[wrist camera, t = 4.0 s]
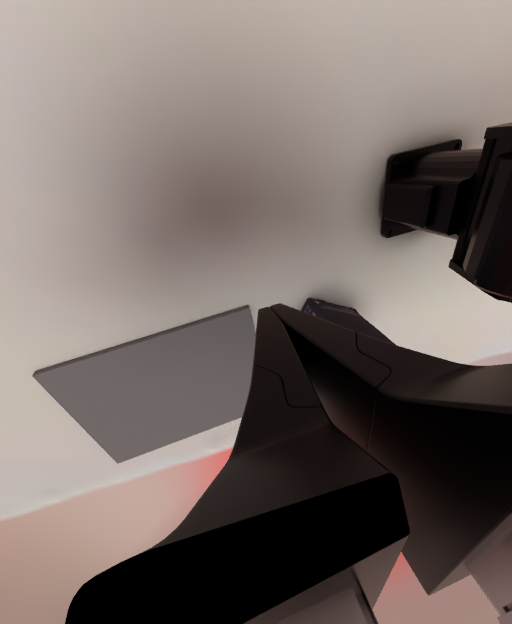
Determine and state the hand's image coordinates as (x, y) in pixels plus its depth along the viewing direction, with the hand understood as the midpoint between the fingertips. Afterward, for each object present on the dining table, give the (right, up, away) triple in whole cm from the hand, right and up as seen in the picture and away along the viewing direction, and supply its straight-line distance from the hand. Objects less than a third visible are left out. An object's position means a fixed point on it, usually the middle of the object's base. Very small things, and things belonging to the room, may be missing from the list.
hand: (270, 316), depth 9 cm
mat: (-8, -8, +16) cm, 20 cm away
